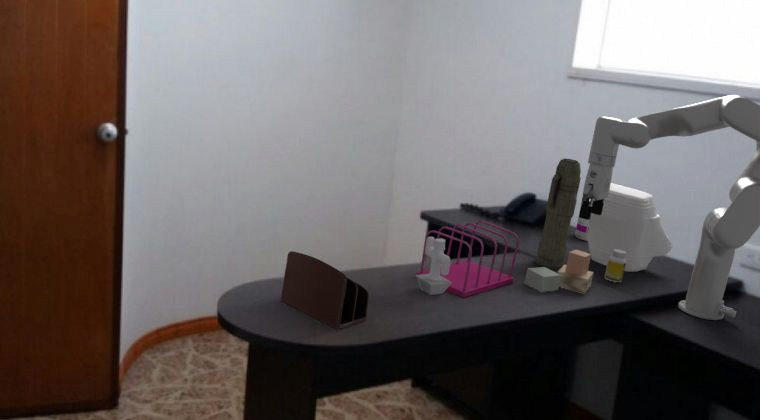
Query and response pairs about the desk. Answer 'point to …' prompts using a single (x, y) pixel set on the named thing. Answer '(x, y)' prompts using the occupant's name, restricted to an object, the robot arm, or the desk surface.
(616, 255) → the supplement bottle
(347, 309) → the letter holder
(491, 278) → the file sorter
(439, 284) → the figurine
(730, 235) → the robot arm
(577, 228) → the supplement can
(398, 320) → the desk surface
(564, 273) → the maple block
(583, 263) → the terracotta block
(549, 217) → the thermos
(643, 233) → the white rounded piece
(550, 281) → the sage block
